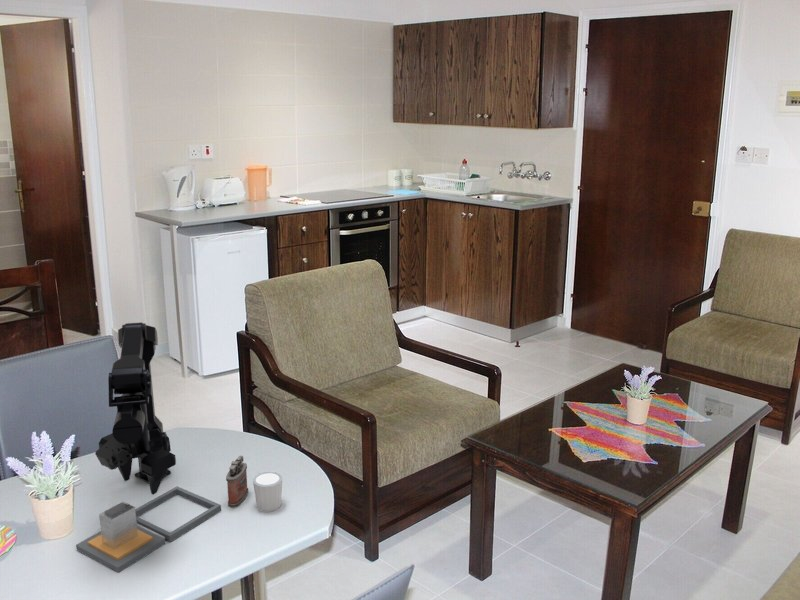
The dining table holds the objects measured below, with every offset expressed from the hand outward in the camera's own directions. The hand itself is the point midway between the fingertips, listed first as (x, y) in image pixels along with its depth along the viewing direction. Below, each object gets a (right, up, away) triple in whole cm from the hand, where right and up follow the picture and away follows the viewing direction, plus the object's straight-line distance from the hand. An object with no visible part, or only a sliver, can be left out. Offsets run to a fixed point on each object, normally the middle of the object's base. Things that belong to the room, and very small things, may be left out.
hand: (140, 486), depth 166 cm
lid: (-4, -12, -2) cm, 13 cm away
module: (-4, -11, -2) cm, 12 cm away
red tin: (+18, -7, +17) cm, 26 cm away
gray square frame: (+4, -9, +10) cm, 14 cm away
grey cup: (+25, -8, +15) cm, 30 cm away
